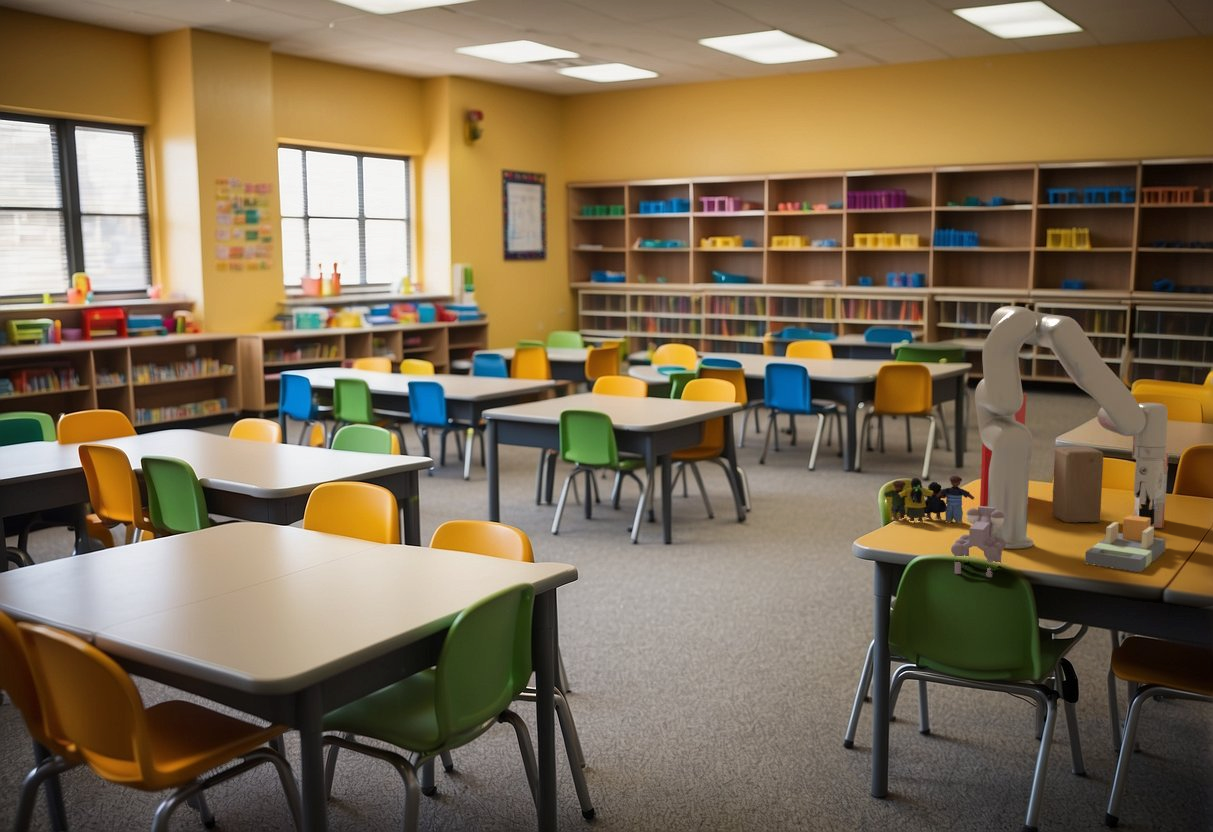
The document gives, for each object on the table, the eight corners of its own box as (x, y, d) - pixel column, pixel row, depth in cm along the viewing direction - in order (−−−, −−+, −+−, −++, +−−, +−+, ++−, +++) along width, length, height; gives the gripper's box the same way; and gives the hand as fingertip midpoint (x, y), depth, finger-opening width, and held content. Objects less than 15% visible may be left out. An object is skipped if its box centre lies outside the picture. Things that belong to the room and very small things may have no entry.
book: (994, 493, 337) (998, 391, 333) (1021, 495, 333) (1026, 392, 329) (979, 510, 314) (982, 400, 309) (1008, 512, 310) (1012, 402, 306)
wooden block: (1101, 523, 296) (1105, 451, 293) (1064, 523, 296) (1068, 451, 293) (1086, 515, 306) (1089, 445, 303) (1050, 515, 306) (1053, 445, 303)
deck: (1140, 572, 248) (1141, 542, 247) (1085, 564, 255) (1086, 535, 254) (1165, 551, 266) (1166, 523, 265) (1113, 543, 274) (1114, 516, 273)
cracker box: (1165, 529, 288) (1169, 452, 285) (1140, 528, 290) (1144, 451, 287) (1157, 518, 301) (1161, 444, 299) (1133, 516, 303) (1137, 443, 301)
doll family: (963, 517, 305) (965, 470, 304) (975, 524, 296) (976, 476, 295) (882, 518, 305) (883, 471, 303) (891, 525, 296) (892, 477, 294)
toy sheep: (964, 553, 266) (969, 499, 264) (1009, 560, 261) (1015, 506, 259) (947, 573, 249) (952, 516, 247) (995, 581, 244) (1000, 523, 241)
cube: (1144, 541, 264) (1145, 521, 263) (1122, 538, 267) (1123, 518, 266) (1149, 537, 268) (1150, 517, 267) (1127, 534, 271) (1128, 515, 270)
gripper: (1158, 458, 262) (1155, 531, 265) (1172, 449, 274) (1169, 520, 276) (1124, 455, 267) (1122, 528, 269) (1140, 447, 278) (1137, 516, 281)
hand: (1146, 523), depth 273 cm, fingers closed
